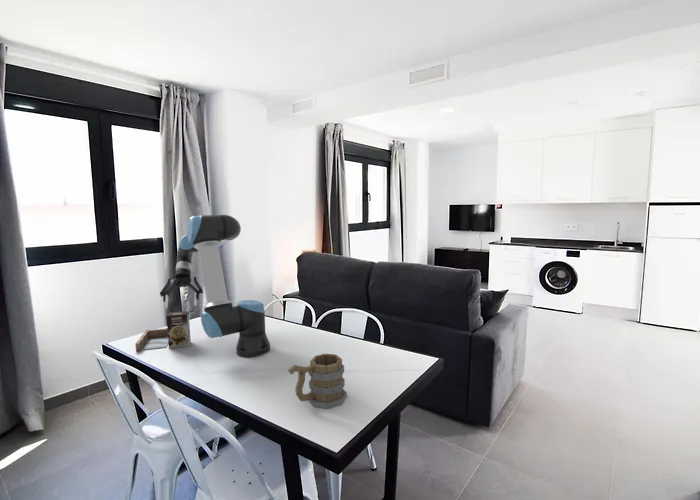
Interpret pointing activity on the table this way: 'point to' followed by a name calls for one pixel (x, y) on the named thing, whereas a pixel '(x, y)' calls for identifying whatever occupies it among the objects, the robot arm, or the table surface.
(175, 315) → the coffee box
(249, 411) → the table surface
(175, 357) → the table surface
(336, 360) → the tankard
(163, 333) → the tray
